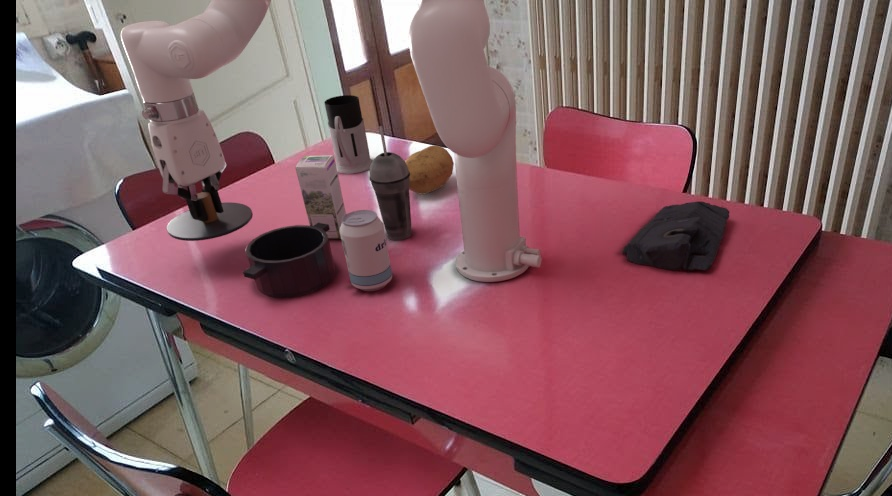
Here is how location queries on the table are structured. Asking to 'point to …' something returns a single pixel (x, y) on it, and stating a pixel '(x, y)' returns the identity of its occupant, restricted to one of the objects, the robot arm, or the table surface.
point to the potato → (429, 169)
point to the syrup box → (321, 192)
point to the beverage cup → (392, 192)
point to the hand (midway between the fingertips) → (208, 214)
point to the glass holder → (348, 134)
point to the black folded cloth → (680, 237)
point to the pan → (291, 260)
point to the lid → (210, 221)
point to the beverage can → (365, 250)
